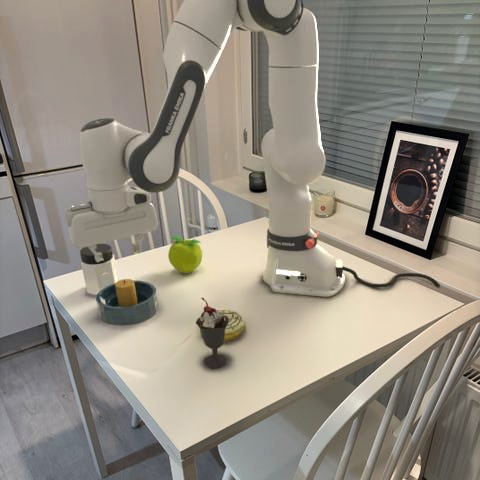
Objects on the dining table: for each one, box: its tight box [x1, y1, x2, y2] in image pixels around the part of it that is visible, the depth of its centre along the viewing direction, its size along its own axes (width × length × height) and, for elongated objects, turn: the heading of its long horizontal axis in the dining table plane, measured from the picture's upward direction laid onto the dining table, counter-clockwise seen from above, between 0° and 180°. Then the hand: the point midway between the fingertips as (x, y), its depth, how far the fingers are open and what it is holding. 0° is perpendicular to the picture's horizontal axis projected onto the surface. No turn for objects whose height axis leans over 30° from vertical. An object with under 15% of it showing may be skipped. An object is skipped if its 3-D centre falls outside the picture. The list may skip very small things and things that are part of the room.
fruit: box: [167, 235, 203, 274], centre depth 140 cm, size 9×9×10 cm
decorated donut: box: [198, 308, 246, 342], centre depth 113 cm, size 10×11×4 cm
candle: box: [115, 278, 138, 307], centre depth 121 cm, size 5×5×8 cm
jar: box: [79, 243, 119, 296], centre depth 131 cm, size 9×8×12 cm
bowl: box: [95, 279, 159, 326], centre depth 122 cm, size 15×15×5 cm
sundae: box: [195, 297, 229, 369], centre depth 100 cm, size 7×7×15 cm
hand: (118, 256), depth 115 cm, fingers open, 8 cm apart
